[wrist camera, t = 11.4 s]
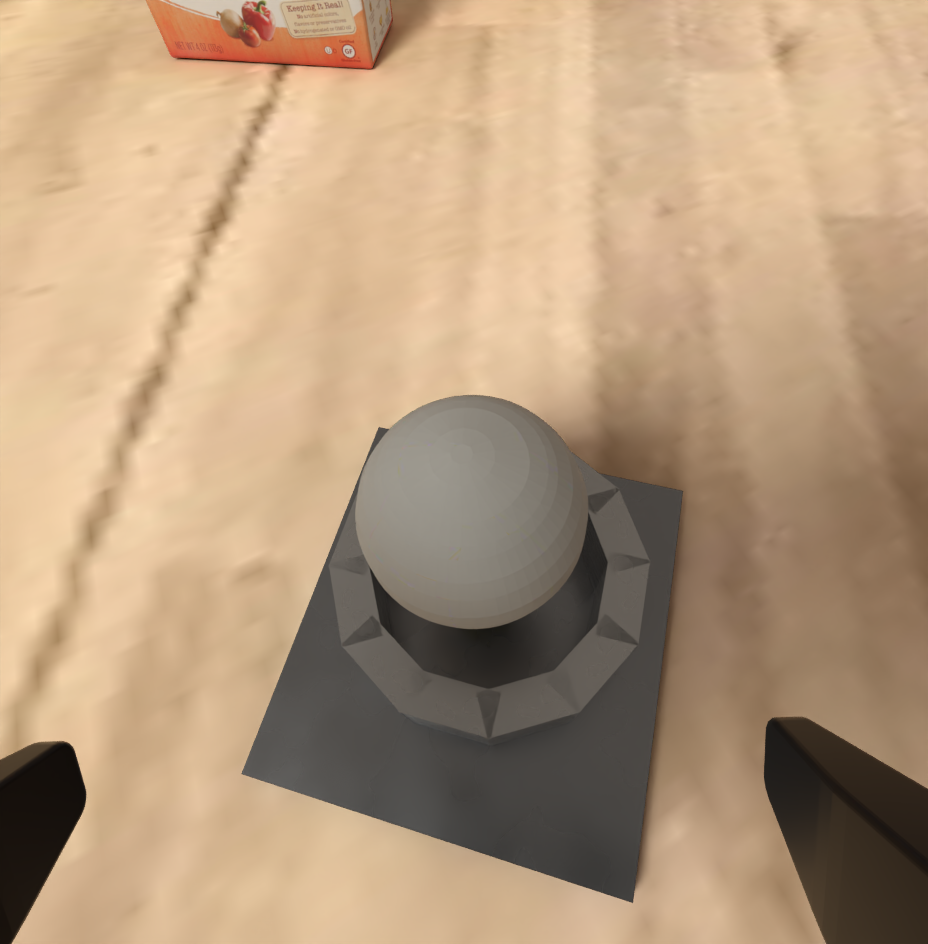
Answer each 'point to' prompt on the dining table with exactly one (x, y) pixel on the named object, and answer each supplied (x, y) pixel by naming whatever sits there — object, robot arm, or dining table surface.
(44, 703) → the dining table surface
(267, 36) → the cracker box
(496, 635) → the bulb holder
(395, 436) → the light bulb
